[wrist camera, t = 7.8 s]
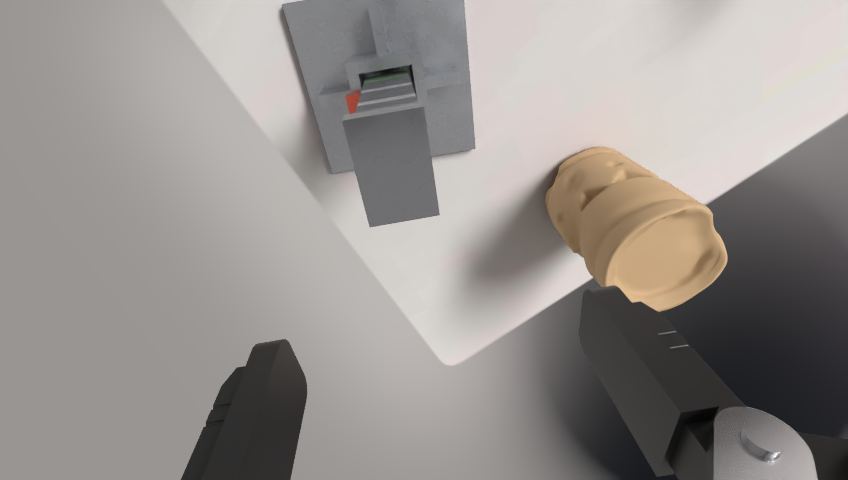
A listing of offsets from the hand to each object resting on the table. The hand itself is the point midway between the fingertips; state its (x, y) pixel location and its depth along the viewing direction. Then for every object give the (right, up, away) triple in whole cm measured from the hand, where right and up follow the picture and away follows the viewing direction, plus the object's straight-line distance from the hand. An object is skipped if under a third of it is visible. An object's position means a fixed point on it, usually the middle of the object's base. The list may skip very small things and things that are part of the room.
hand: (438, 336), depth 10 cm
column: (-4, +17, +26) cm, 31 cm away
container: (+22, +10, +42) cm, 48 cm away
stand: (-4, +20, +32) cm, 39 cm away
